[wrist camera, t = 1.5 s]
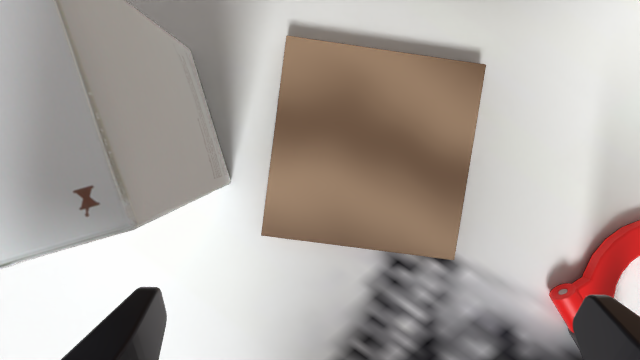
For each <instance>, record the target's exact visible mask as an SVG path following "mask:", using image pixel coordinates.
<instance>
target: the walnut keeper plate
mask: <svg viewBox="0 0 640 360" xmlns="http://www.w3.org/2000/svg"><path fill="white" fill-rule="evenodd" d="M485 68H486V65H485V64H478V63H471V62H464V61H458V60H451V59H444V58H437V57H430V56H423V55H417V54H410V53H403V52H396V51H389V50H382V49H375V48H369V47H362V46H355V45H348V44H341V43H334V42H328V41H321V40H314V39H307V38H300V37H293V36H286V44H285V52H284V60H283V68H282V75H281V83H280V91H279V99H278V107H277V115H276V123H275V131H274V138H273V146H272V154H271V162H270V170H269V178H268V186H267V194H266V201H265V209H264V217H263V225H262V233H261V235H262V236H270V237H278V238H285V239H293V240H301V241H309V242H317V243H325V244H332V245H340V246H348V247H356V248H364V249H372V250H379V251H387V252H395V253H403V254H411V255H419V256H426V257H434V258H442V259H450V260H454V257H455V251H456V245H457V239H458V233H459V227H460V220H461V214H462V208H463V202H464V196H465V190H466V184H467V178H468V172H469V166H470V159H471V153H472V147H473V141H474V135H475V129H476V123H477V117H478V111H479V105H480V98H481V92H482V86H483V80H484V74H485Z"/></svg>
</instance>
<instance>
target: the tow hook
mask: <svg viewBox="0 0 640 360" xmlns="http://www.w3.org/2000/svg"><path fill="white" fill-rule="evenodd" d="M638 256H640V220H639V221H636V222H634V223H631V224H628V225H626V226H623V227H621V228H620V229H619V230H617V231H616V232H614V233H613V234H612V235H610V236H609V237H608V238H606V239H605V240H604V241H603V242H602V244H601V245H600V246H599V247H598V249H597V250H596V251H595V252H594V253H593V255H592V256H591V258H590V260H589V262H588V265H587V267H586V269H585V271H584V273H583V276H582V277H581V278H579V279H578V280H576V281H575V282H573V283H572V284H571V283H565V284H561V285H558V286H556V287H555V288H553V289H552V290H551V291H550V294H549V296H550V298H551V299H552V301H553V303H554V304H555V306H556V308H557V309H558V311H559V313H560V314H561V316H562V318H563V319H564V321H565V323H566V324H567V326H568V331H569V333H570V335H571V336H572V338H573V340H574V341H575V343H576V345H577V346H578V343H577V340H576V337H575V334H574V331H573V319H574V317H575V315H576V313H577V311H578V309H579V307H580V306H581V304H582V302H583V300H584V298H585V297H586V296H588V295H608V296H611V297H612V298H614V294H615V289H616V285H617V283H618V280H619V278H620V276H621V274H622V272H623V271H624V270H625V269H626V267H627V266H628V265H629V264H630V263H631V262H632V261H633V260H634V259H636V258H637V257H638ZM578 348H579V346H578ZM579 350H580V349H579Z"/></svg>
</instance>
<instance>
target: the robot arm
mask: <svg viewBox="0 0 640 360" xmlns="http://www.w3.org/2000/svg"><path fill="white" fill-rule="evenodd" d="M166 320H167V314H166V309H165V305H164V301H163V297H162V293H161V290H160V289H159V288H157V287H140V288H138V289H136V290H135V291H134V292H133V293H132V294H131V295H130V296H129V297H128V298H126V299H125V300H124V301H123V302H122V303H121V304H120V305H119V306H118V307H117V308H116V309H115V310H114V311H113V312H111V313H110V314H109V315H108V316H107V317H106V318H105V319H104V320H103V321H102V322H101V323H100V324H99V325H98V326H96V327H95V328H94V329H93V330H92V331H91V332H90V333H89V334H88V335H87V336H86V337H85V338H84V339H83V340H81V341H80V342H79V343H78V344H77V345H76V346H75V347H74V348H73V349H72V350H71V351H70V352H69V353H68V354H66V355H65V356H64V357H63V358H62V359H61V360H159V355H160V350H161V346H162V341H163V336H164V332H165V327H166ZM573 331H574V334H575V337H576V340H577V343H578V346H579V349H580V352H581V355H582V358H583V360H640V317H639V316H638V315H637V314H635V313H634V312H632V311H631V310H629V309H628V308H627V307H625V306H624V305H622V304H621V303H620V302H618V301H617V300H615V299H614V298H612V297H611V296H608V295H588V296H586V297H585V298H584V300H583V302H582V304H581V306H580V307H579V309H578V311H577V313H576V315H575V317H574V319H573Z"/></svg>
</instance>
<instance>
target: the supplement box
mask: <svg viewBox="0 0 640 360" xmlns="http://www.w3.org/2000/svg"><path fill="white" fill-rule="evenodd" d="M230 183H231V181H230V177H229V174H228V171H227V168H226V164H225V161H224V157H223V154H222V151H221V148H220V145H219V142H218V138H217V135H216V131H215V128H214V125H213V122H212V119H211V115H210V112H209V109H208V106H207V102H206V99H205V96H204V92H203V89H202V86H201V82H200V79H199V76H198V73H197V69H196V66H195V63H194V60H193V57H192V53H191V51H190V49H189V48H188V47H186V46H185V45H184V44H182V43H181V42H179V41H178V40H177V39H176V38H175V37H173V36H172V35H170V34H169V33H168V32H166V31H165V30H164V29H162V28H161V27H160V26H158V25H157V24H156V23H154V22H153V21H152V20H150V19H149V18H148V17H146V16H145V15H143V14H142V13H141V12H140V11H138V10H137V9H136V8H134V7H133V6H132V5H130V4H129V3H128V2H127V1H125V0H0V269H2V268H6V267H9V266H12V265H15V264H18V263H20V262H23V261H27V260H30V259H33V258H37V257H40V256H44V255H47V254H51V253H54V252H57V251H61V250H64V249H68V248H71V247H75V246H78V245H82V244H85V243H89V242H92V241H96V240H99V239H103V238H106V237H110V236H113V235H117V234H120V233H124V232H128V231H131V230H134V229H136V228H138V227H140V226H142V225H144V224H146V223H149V222H151V221H153V220H155V219H157V218H159V217H161V216H163V215H166V214H168V213H170V212H172V211H174V210H176V209H178V208H180V207H182V206H184V205H186V204H188V203H190V202H192V201H195V200H197V199H199V198H201V197H203V196H205V195H207V194H209V193H211V192H213V191H215V190H217V189H219V188H222V187H224V186H226V185H229V184H230Z"/></svg>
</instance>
